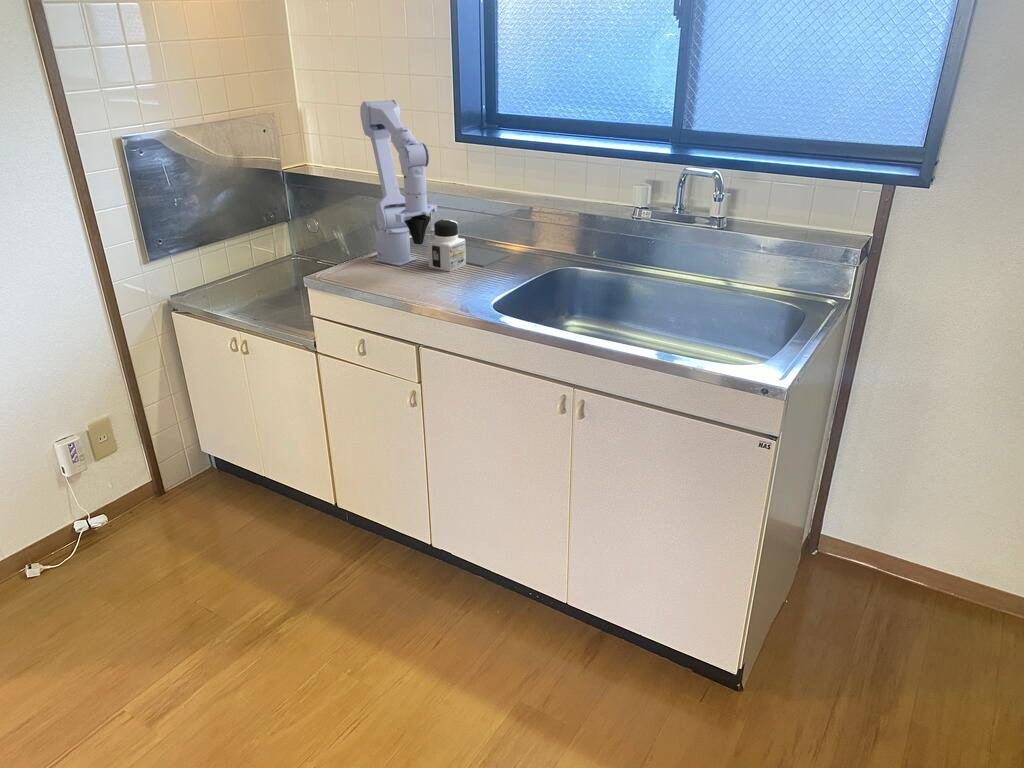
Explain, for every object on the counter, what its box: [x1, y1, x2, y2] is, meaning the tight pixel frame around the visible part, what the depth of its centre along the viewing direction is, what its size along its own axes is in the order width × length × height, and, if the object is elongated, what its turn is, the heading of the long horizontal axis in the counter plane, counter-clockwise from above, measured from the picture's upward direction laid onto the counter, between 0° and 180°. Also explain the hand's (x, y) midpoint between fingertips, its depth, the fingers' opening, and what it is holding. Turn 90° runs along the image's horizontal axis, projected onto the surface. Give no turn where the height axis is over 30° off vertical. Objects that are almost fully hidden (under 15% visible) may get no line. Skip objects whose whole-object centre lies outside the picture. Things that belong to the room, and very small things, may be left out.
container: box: [427, 219, 467, 273], centre depth 217 cm, size 8×8×13 cm
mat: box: [465, 245, 511, 268], centre depth 229 cm, size 18×13×1 cm
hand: (418, 243), depth 207 cm, fingers closed
